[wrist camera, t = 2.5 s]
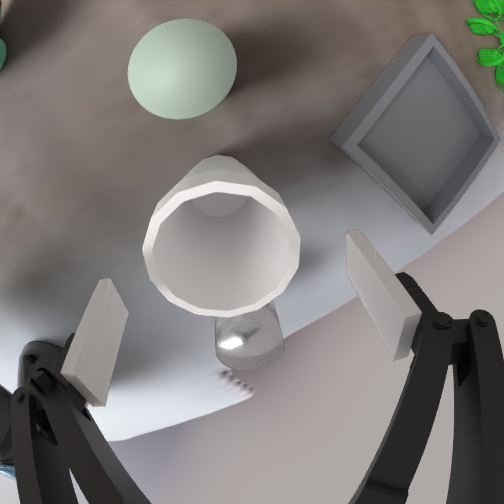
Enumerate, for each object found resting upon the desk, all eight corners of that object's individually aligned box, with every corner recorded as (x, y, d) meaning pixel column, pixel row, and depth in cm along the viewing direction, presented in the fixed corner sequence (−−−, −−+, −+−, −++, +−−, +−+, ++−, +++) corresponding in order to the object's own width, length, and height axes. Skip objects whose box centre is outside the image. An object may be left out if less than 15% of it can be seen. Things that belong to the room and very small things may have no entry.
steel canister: (246, 303, 37) (257, 376, 27) (204, 283, 34) (203, 358, 25) (276, 269, 34) (298, 340, 25) (232, 245, 32) (241, 316, 23)
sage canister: (204, 118, 25) (196, 138, 16) (149, 87, 23) (109, 90, 13) (242, 66, 23) (259, 52, 13) (186, 34, 21) (168, 2, 11)
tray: (416, 221, 33) (431, 235, 30) (328, 139, 27) (342, 146, 24) (482, 132, 27) (500, 139, 24) (412, 34, 21) (431, 32, 18)
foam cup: (224, 119, 25) (229, 145, 14) (286, 188, 30) (329, 258, 18) (152, 186, 28) (113, 257, 17) (216, 245, 32) (218, 336, 21)
